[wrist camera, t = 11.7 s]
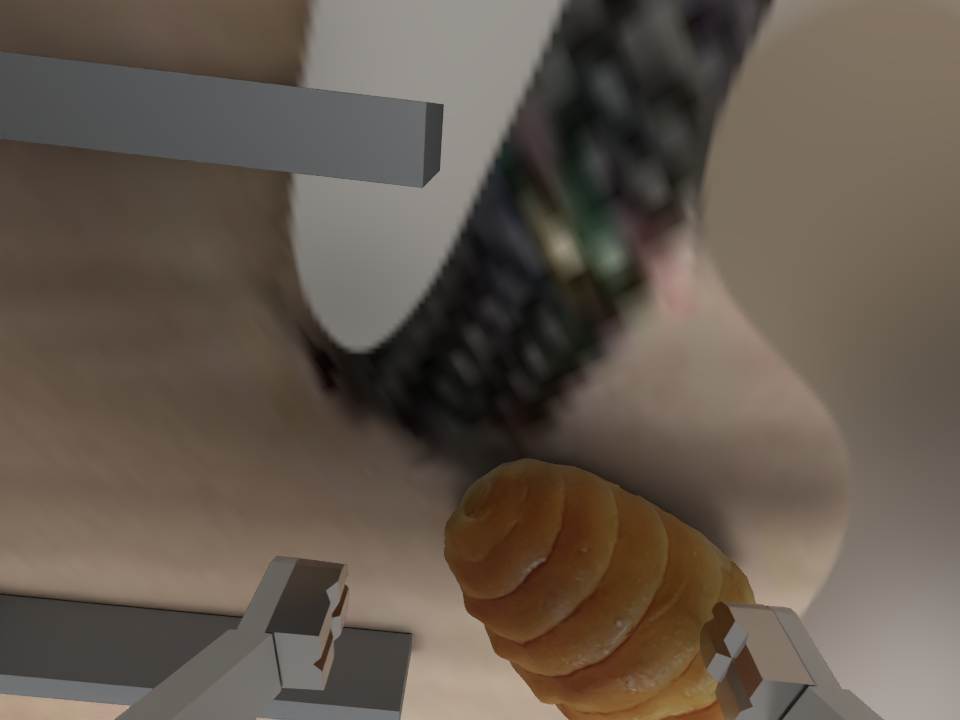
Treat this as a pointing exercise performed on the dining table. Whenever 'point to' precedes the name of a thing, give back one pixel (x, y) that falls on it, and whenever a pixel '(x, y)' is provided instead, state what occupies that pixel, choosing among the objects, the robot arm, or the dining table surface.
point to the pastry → (591, 591)
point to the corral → (227, 141)
